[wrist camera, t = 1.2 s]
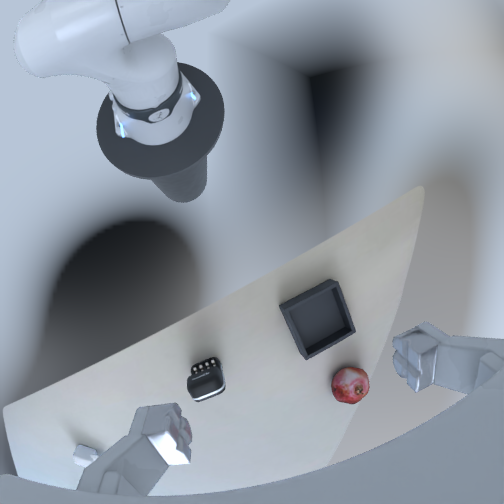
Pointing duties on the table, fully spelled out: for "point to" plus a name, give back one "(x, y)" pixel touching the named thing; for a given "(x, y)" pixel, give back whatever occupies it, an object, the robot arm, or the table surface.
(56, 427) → the table surface
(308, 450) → the table surface
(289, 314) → the tote
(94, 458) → the power adapter
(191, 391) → the battery charger
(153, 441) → the robot arm
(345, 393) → the fruit
